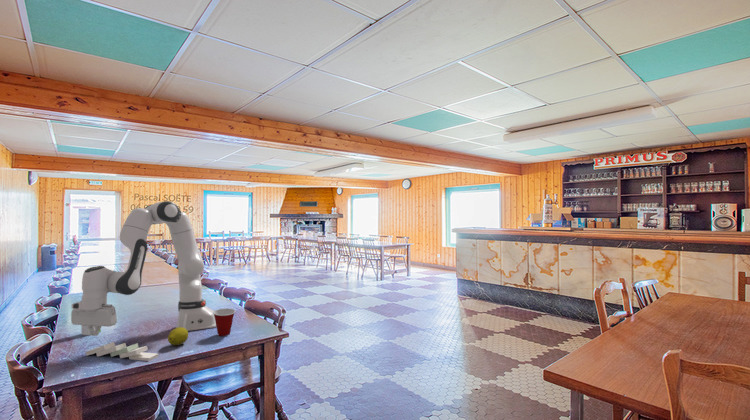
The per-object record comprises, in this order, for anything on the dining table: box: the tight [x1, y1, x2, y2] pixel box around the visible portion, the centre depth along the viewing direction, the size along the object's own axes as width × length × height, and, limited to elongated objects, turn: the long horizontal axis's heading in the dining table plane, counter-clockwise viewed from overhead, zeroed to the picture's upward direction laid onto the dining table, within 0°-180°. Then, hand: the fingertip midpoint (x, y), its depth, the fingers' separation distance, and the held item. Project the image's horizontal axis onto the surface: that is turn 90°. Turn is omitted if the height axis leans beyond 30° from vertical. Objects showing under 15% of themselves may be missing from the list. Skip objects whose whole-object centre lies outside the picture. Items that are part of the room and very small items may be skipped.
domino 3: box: [109, 342, 139, 358], centre depth 157 cm, size 2×5×10 cm
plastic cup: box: [213, 307, 236, 337], centre depth 186 cm, size 11×11×12 cm
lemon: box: [167, 327, 189, 346], centre depth 171 cm, size 11×8×8 cm
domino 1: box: [85, 341, 116, 356], centre depth 159 cm, size 2×5×10 cm
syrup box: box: [80, 325, 102, 336], centre depth 188 cm, size 6×6×14 cm
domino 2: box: [95, 342, 127, 358], centre depth 158 cm, size 2×5×10 cm
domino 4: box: [118, 345, 149, 359], centre depth 155 cm, size 2×5×10 cm
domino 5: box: [128, 351, 160, 362], centre depth 155 cm, size 2×5×10 cm
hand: (94, 335), depth 160 cm, fingers closed
